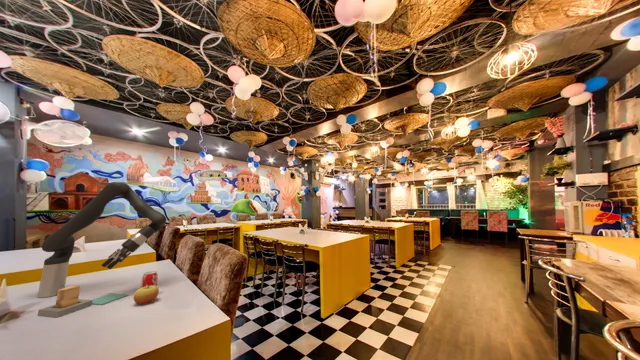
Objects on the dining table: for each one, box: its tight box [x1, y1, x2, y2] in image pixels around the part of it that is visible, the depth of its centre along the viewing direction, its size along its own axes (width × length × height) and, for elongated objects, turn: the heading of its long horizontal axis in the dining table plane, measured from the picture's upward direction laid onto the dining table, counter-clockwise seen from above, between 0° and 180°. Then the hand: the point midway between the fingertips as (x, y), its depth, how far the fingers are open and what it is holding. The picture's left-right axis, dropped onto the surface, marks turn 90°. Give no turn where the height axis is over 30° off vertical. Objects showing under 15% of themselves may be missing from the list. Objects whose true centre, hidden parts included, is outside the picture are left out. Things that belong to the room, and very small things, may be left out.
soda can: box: [140, 270, 159, 288], centre depth 116 cm, size 7×7×12 cm
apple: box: [133, 285, 160, 305], centre depth 106 cm, size 10×10×8 cm
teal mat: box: [91, 292, 129, 306], centre depth 110 cm, size 12×12×1 cm
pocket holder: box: [37, 298, 93, 318], centre depth 99 cm, size 12×12×2 cm
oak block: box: [55, 285, 81, 309], centre depth 99 cm, size 5×5×10 cm
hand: (105, 267), depth 111 cm, fingers open, 8 cm apart
